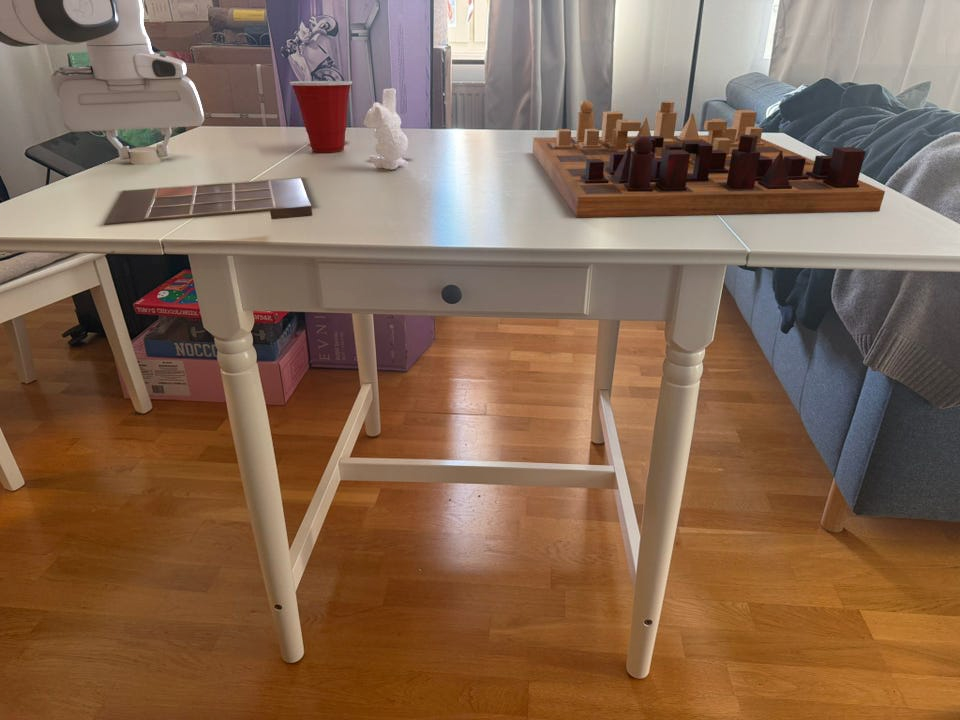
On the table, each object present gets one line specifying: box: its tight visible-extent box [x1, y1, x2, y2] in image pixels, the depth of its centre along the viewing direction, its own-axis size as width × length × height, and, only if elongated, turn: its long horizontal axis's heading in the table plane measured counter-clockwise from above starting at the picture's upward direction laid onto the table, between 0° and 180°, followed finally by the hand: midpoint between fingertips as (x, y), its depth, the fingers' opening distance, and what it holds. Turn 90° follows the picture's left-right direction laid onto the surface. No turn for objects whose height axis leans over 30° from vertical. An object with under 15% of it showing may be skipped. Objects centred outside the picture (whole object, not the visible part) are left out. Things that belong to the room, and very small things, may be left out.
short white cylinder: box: [129, 146, 162, 166], centre depth 110 cm, size 4×4×3 cm
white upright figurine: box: [362, 87, 409, 171], centre depth 108 cm, size 8×7×12 cm
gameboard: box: [532, 100, 886, 218], centre depth 102 cm, size 40×40×9 cm
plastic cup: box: [289, 80, 353, 154], centre depth 121 cm, size 11×11×12 cm
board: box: [103, 177, 313, 226], centre depth 89 cm, size 24×16×1 cm, turn 108°
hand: (145, 157), depth 109 cm, fingers closed on short white cylinder, 4 cm apart
